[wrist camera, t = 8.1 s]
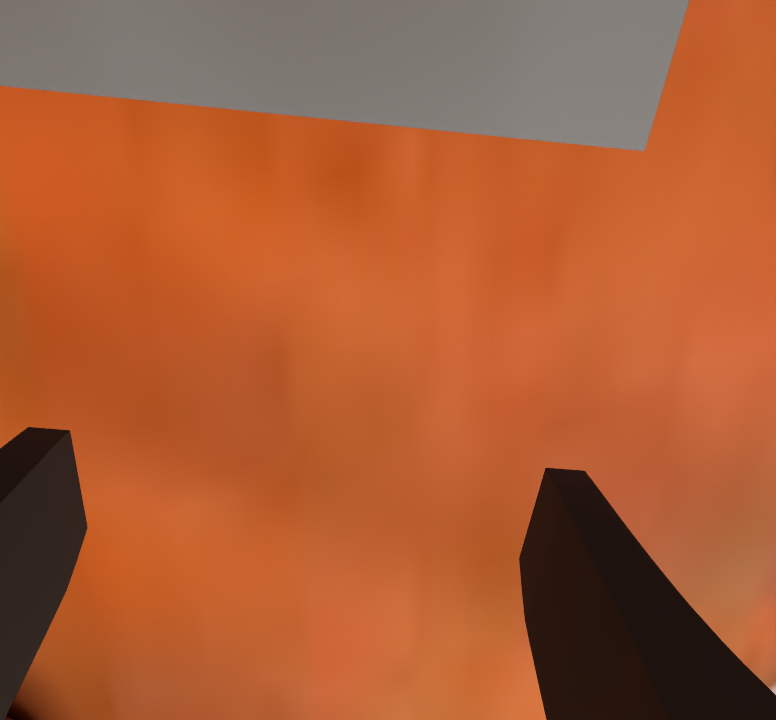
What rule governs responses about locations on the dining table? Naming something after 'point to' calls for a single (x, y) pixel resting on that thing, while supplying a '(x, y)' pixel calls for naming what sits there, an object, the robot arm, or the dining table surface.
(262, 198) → the dining table surface
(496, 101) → the holder
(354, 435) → the dining table surface
